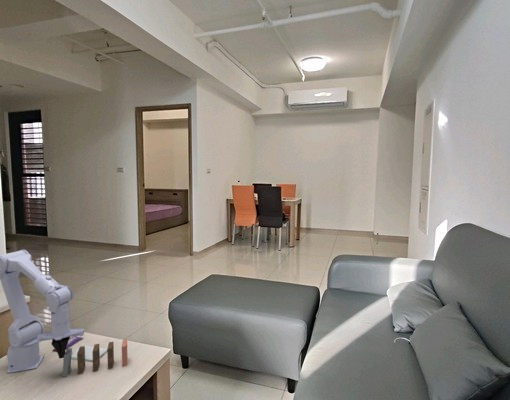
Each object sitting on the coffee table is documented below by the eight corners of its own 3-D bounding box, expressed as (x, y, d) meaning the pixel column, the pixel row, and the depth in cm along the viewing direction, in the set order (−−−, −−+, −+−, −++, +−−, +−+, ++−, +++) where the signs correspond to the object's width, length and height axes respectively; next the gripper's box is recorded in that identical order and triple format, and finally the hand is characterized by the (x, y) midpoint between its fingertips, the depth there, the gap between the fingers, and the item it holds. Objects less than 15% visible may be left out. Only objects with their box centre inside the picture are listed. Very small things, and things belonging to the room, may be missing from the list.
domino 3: (93, 371, 114) (92, 351, 113) (95, 364, 119) (94, 344, 118) (97, 371, 114) (97, 350, 114) (99, 363, 119) (99, 343, 118)
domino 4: (107, 369, 116) (107, 349, 115) (109, 361, 120) (108, 342, 120) (112, 368, 116) (111, 348, 115) (113, 360, 121) (113, 341, 120)
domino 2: (77, 374, 112) (77, 353, 112) (80, 366, 117) (79, 346, 116) (82, 373, 113) (82, 353, 112) (85, 365, 118) (84, 345, 117)
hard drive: (67, 356, 122) (95, 359, 119) (82, 344, 130) (108, 348, 128) (67, 360, 122) (95, 363, 120) (82, 348, 130) (108, 352, 128)
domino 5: (122, 366, 117) (121, 346, 117) (123, 359, 122) (122, 340, 121) (126, 365, 118) (126, 346, 117) (127, 358, 122) (127, 339, 122)
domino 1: (62, 377, 111) (63, 355, 110) (65, 368, 115) (67, 348, 115) (67, 376, 111) (68, 355, 111) (70, 368, 116) (72, 347, 115)
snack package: (74, 334, 138) (83, 335, 137) (74, 338, 138) (83, 339, 137) (51, 348, 127) (61, 350, 125) (51, 352, 127) (61, 354, 126)
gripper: (33, 329, 105) (35, 367, 106) (80, 323, 110) (82, 359, 111) (40, 320, 112) (41, 355, 113) (84, 314, 116) (85, 348, 118)
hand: (62, 356), depth 112 cm, fingers closed
